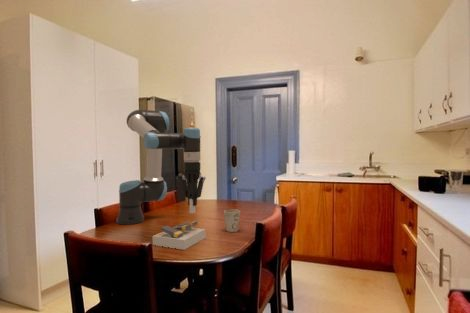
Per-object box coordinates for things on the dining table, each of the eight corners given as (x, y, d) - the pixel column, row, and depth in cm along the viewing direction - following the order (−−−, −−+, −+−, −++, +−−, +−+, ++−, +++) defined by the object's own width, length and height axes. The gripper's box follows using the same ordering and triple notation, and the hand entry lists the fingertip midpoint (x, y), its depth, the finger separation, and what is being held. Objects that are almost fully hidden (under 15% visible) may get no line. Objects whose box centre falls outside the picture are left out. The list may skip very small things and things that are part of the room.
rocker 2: (169, 232, 132) (168, 228, 132) (174, 229, 136) (174, 226, 136) (186, 229, 128) (185, 226, 128) (191, 227, 132) (190, 224, 132)
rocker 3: (177, 228, 137) (176, 225, 137) (182, 226, 141) (181, 223, 141) (193, 226, 134) (192, 223, 134) (197, 224, 138) (197, 221, 138)
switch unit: (152, 245, 127) (152, 233, 127) (176, 234, 144) (176, 224, 143) (184, 249, 121) (184, 237, 121) (205, 237, 137) (205, 227, 137)
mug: (228, 233, 144) (228, 213, 144) (218, 227, 155) (218, 208, 155) (243, 231, 148) (243, 211, 148) (232, 225, 159) (232, 207, 159)
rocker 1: (160, 230, 126) (161, 227, 126) (166, 228, 130) (166, 225, 130) (177, 238, 123) (178, 234, 123) (183, 235, 127) (183, 232, 127)
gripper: (175, 161, 134) (176, 213, 135) (200, 162, 129) (200, 215, 129) (184, 161, 141) (185, 210, 142) (208, 161, 136) (208, 212, 136)
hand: (192, 212), depth 135 cm, fingers closed
